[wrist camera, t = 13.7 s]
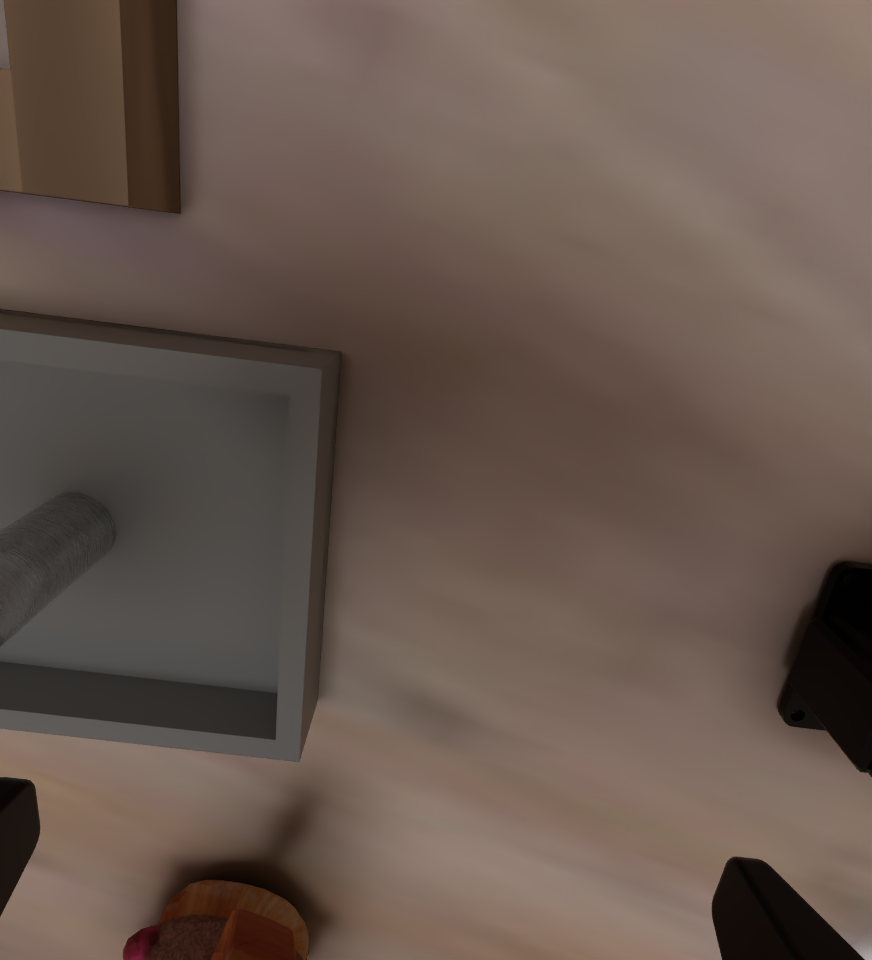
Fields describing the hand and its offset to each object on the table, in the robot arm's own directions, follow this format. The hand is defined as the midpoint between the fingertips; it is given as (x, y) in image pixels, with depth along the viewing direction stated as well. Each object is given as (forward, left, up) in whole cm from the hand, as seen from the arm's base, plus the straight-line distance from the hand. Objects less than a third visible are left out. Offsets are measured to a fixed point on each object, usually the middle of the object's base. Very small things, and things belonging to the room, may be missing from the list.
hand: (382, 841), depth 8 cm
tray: (+10, +2, -13) cm, 17 cm away
